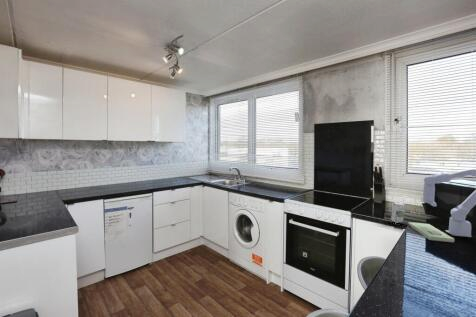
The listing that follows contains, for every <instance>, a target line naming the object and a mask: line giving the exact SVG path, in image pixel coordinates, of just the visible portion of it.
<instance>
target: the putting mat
mask: <svg viewBox="0 0 476 317" xmlns="http://www.w3.org/2000/svg"><path fill="white" fill-rule="evenodd" d="M408 224H409V225H410V226H411V227H410V226H409V225H408V226H409V227H410V228H411V229H413V230H414V231H416V232H418V233H419V234H421V236H423V237H424V238H426V239H427V240H428V241H436V242H437V241H438V242H447V243H455V238H454V237H452V236H450V235H448V234H447V233H446V232H444V231H442V230H440V229H438V228H436V227H435V226H433V225H431V224H430V223H423V222H422V223H421V222H410V221H408ZM432 230H438V231H439V232H440V235H433V234H432V233H431V232H432Z"/></svg>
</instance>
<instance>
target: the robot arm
mask: <svg viewBox="0 0 476 317" xmlns="http://www.w3.org/2000/svg"><path fill="white" fill-rule="evenodd" d="M469 176H471V177H476V167H474V168H467V169H463V170H460V171H459V170H458V171H454V172H451V173H449V172H444V171H442V172H440V173H437V174H431V175H427V176H425V177H424V178H423V181H424V184H423V190H422V191H423V192H422V193H423V194H422V197H421V198H420V202H422V203H421V205H422V207H423V210H424V214H425V215H426V216H429V215H431V213H432V211H433V209H434V208H435V207H437V206H438V205H437V202H435V195H436V194H435V192H436V187H435V186H436V185H435V184H443V183H447V182H450V181H452V179H458V178H462V177H469ZM475 206H476V189H475V190H474V191H473V192H472V193H471V194H469V196H467V198H466V199H465V200H464V201H463V202H461V204H459V205H457V206H456V207H454V208H452V209H450V212H449V213H450V215H451V216H450V217H449V223H448V224H449V225H448V230H447V229H446V230H444V231H445V233H448V234H451V236H456V237H467V238H472V223H471V222H470V221H469V220H466V218H467V215H468V214H469V213H470V211H471V210H472V209H473V208H474V207H475Z"/></svg>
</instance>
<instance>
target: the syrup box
mask: <svg viewBox="0 0 476 317" xmlns="http://www.w3.org/2000/svg"><path fill="white" fill-rule="evenodd" d="M405 211H406V204H404V203H403V202H396V201H395V202H394V201H393V202H391V210H390V221H391V220H392V221H394V222H395V224H394V225H397V224H396V223H398V222H405Z"/></svg>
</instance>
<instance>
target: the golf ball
mask: <svg viewBox="0 0 476 317" xmlns="http://www.w3.org/2000/svg"><path fill="white" fill-rule="evenodd" d="M438 230H439V229H438ZM438 230H432V232H431V233H432V234H433V235H440V232H439V231H438Z"/></svg>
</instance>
